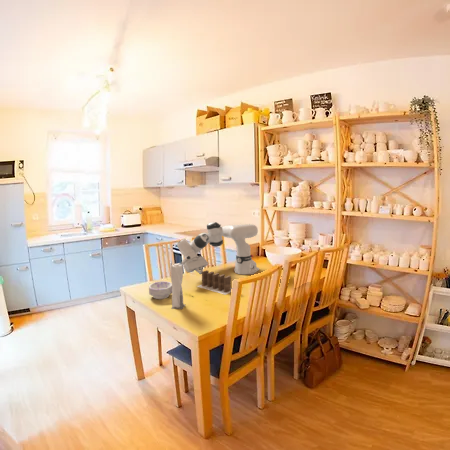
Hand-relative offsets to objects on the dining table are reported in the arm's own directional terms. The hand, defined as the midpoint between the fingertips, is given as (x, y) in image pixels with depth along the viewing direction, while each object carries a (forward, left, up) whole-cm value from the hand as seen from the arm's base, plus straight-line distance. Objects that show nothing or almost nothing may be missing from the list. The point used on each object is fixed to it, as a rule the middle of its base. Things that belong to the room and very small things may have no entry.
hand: (201, 273), depth 225 cm
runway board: (0, +13, -9) cm, 16 cm away
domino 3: (0, +13, -8) cm, 15 cm away
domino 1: (0, +3, -8) cm, 8 cm away
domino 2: (0, +8, -8) cm, 11 cm away
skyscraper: (+36, +13, -9) cm, 39 cm away
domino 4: (0, +18, -8) cm, 20 cm away
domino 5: (0, +23, -8) cm, 24 cm away
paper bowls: (+32, -7, -9) cm, 34 cm away
